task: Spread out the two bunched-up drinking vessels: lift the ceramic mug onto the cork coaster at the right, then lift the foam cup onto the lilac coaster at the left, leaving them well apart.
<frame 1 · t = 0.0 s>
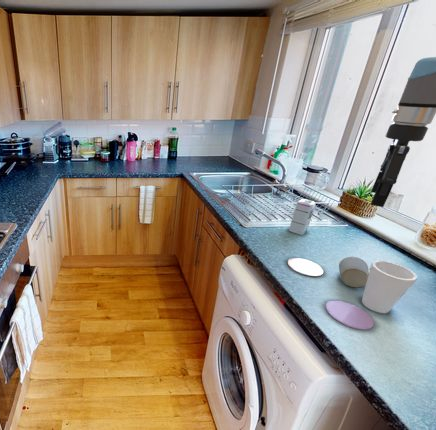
hand: (376, 198, 84), 29 cm above the worktop, tool pointing down, fingers open, 13 cm apart
lilac coaster: (348, 314, 82), on the worktop
foam cup: (374, 306, 86), on the worktop
ceramic mug: (354, 283, 95), on the worktop
cork coaster: (304, 267, 103), on the worktop
syrup box: (297, 231, 128), on the worktop
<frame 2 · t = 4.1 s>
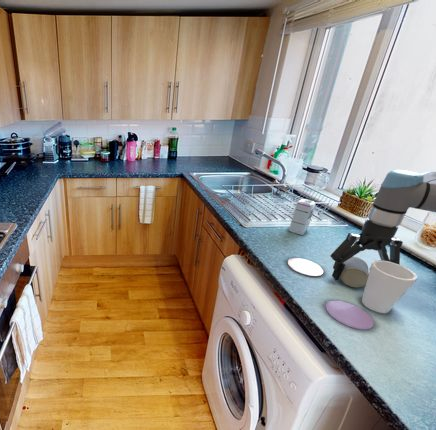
hand: (354, 280, 95), 1 cm above the worktop, tool pointing down, fingers closed on ceramic mug, 11 cm apart
ceramic mug: (354, 283, 95), on the worktop, touching gripper
everything else where it was.
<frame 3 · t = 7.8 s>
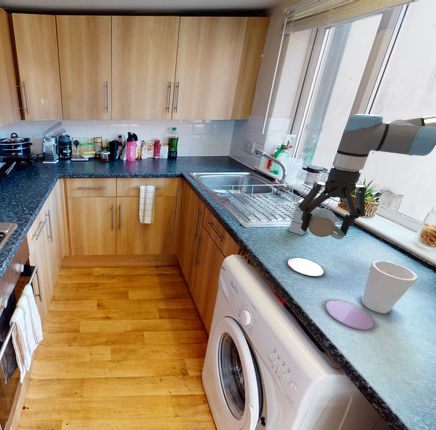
hand: (322, 231, 96), 15 cm above the worktop, tool pointing down, fingers closed on ceramic mug, 11 cm apart
ceramic mug: (322, 234, 96), point 14 cm above the worktop, touching gripper
everything else where it was.
when the fingers open (1 cm above the worktop, at t = 11.4 s): ceramic mug stays where it is, resting on cork coaster.
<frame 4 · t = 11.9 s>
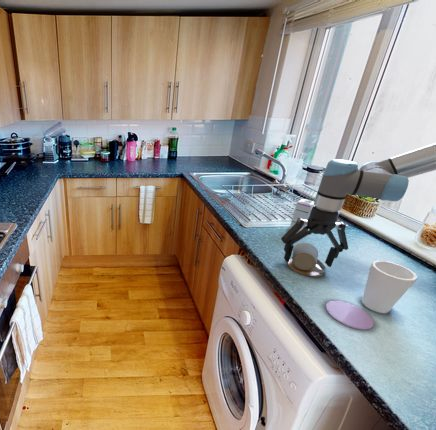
hand: (306, 262, 102), 2 cm above the worktop, tool pointing down, fingers open, 13 cm apart
ceramic mug: (305, 267, 103), resting on cork coaster
everything else where it was.
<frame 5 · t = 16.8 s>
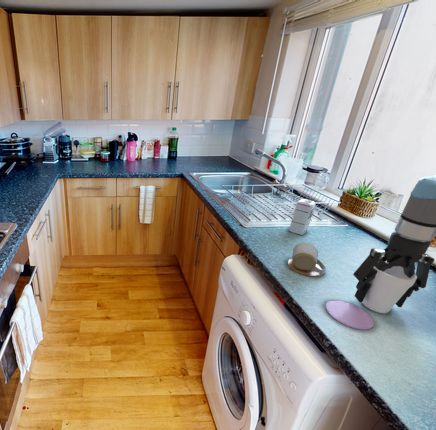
hand: (377, 301, 85), 2 cm above the worktop, tool pointing down, fingers closed on foam cup, 9 cm apart
foam cup: (374, 306, 86), on the worktop, touching gripper
everything else where it was.
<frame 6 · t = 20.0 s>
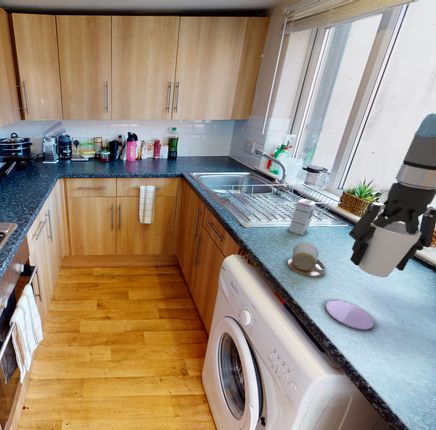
hand: (375, 265, 75), 17 cm above the worktop, tool pointing down, fingers closed on foam cup, 9 cm apart
foam cup: (372, 270, 76), point 15 cm above the worktop, touching gripper
everything else where it was.
when the fingers open (2 cm above the worktop, at t = 23.7 s): foam cup stays where it is, resting on lilac coaster.
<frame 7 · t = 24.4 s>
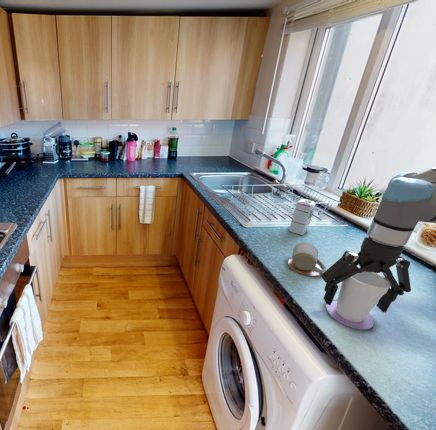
hand: (353, 305, 80), 4 cm above the worktop, tool pointing down, fingers open, 13 cm apart
foam cup: (348, 314, 82), resting on lilac coaster
everything else where it was.
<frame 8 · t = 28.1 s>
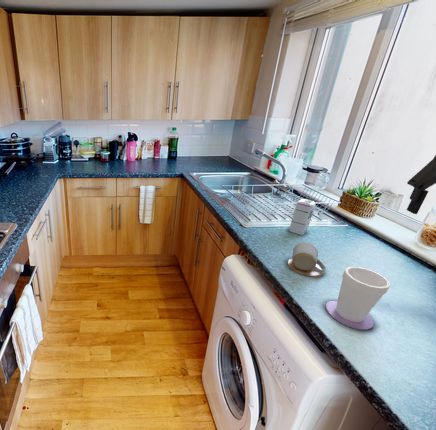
nothing on the worktop moved.
at the end: ceramic mug 0.3 cm off-centre on the cork coaster, point 0.2 cm above the cork coaster's base; foam cup 0.0 cm off-centre on the lilac coaster, point 0.2 cm above the lilac coaster's base; foam cup tilted 0° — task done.
